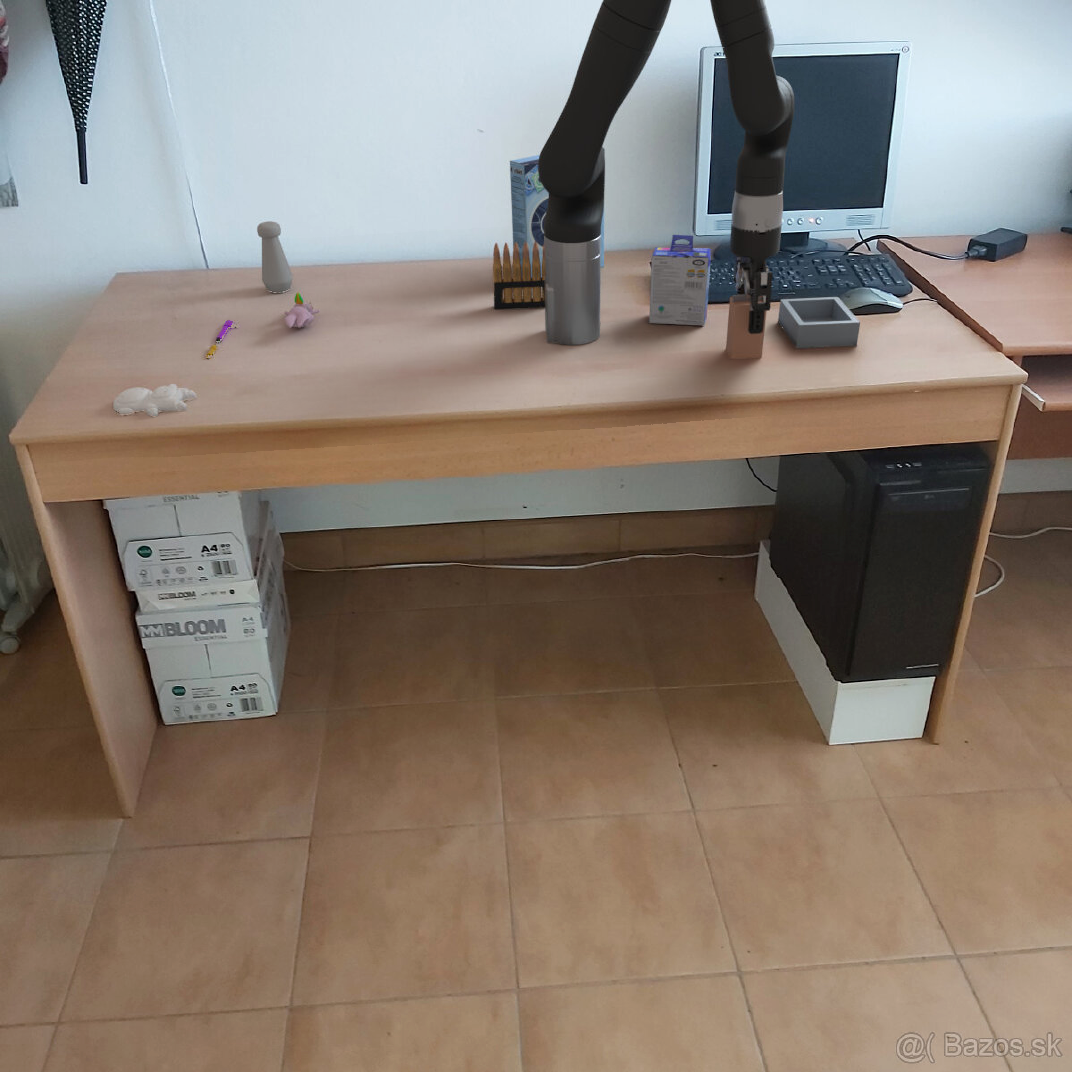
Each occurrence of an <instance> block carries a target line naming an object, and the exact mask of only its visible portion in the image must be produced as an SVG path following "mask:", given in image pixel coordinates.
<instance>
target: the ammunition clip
mask: <svg viewBox="0 0 1072 1072" xmlns="http://www.w3.org/2000/svg"><path fill="white" fill-rule="evenodd" d="M502 249H503V250H502V251H503V252H502V257H503V258H502V261H501V252H500V247H499V245H498V243H497V242H495V243H494V246H493V255H492V256H493V258H492V259H493V263H492V276H493V277H492V278H493V281H492V282H493V309H494V310H496V311H497V310H502V311H503V310H520V309H521V310H522V309H541V308H542V309H545V286H544V277H545V246H544V245H543V257H542V277H541V264H540V257H539V248H538V244H537V242H536V241H535V242H534V246H533V257H532V278H531V264H530V257H529V249H528V245H527V243H526V242H525V243H524V246H523V261H522V275H521V263H520V255H519V248H518V245H517V243H516V242H515V244H514V248H513V247H512V249H513V250H512V264H511V253H510V249H509V245H508V243H507V242H505V243H504V245H503V248H502Z"/></svg>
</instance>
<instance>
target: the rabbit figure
mask: <svg viewBox="0 0 1072 1072" xmlns="http://www.w3.org/2000/svg"><path fill="white" fill-rule="evenodd" d="M294 303H295V304H294V305H293V307H292V308H291V309H290V310H289V311H284V312H283V313H284V315H286V316H285V317H284V319H283V320H284V323H286V326H287V327H288V328H292V327H293V328H299V327H302V328H304V327H303V326H305V327H306V326H307V325H311V324H312V322H314V320H315V316H314V314H317V313H319V312H320V309H314V307H313V305H312V301H310V302H309V303H308V302H304V298H303V297H302V295H301V293H300V292H299V291H297V292H296V293H295V296H294Z"/></svg>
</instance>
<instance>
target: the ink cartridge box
mask: <svg viewBox="0 0 1072 1072" xmlns="http://www.w3.org/2000/svg"><path fill="white" fill-rule="evenodd" d="M680 240H685V241H687V242H689V243H688V244H685V243H676V241H680ZM711 253H712V251H711V248H708V247H707V248H705V247H702V248H701V247H694V235H687V234H685V235H684V234H672V237H671V244H670V247H655V248H654V251H653V252H652V254H651V262H650V263H651V265H650V293H649V319H648V320H649V321H648V323H649V324H659V325H660V324H661V325H662V324H665V325H682V326H683V325H684V326H705V323H706V320H707V317H708V316H707V315H708V305H709V304H708V301H709V292H710V278H711V277H710V276H711V257H712V256H711Z"/></svg>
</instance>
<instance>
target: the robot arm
mask: <svg viewBox="0 0 1072 1072" xmlns="http://www.w3.org/2000/svg"><path fill="white" fill-rule="evenodd" d="M671 3H672V0H602V2H601V4H600V7H599V9H598V12H597V14H596V17H595V20H594V22H593V24H592V27H591V30H590V33H589V36H588V38H587V39H588V40H587V42H586V44H585V46H584V50H583V53H582V56H581V59H580V61H579V64H578V68H577V71H576V75H575V77H574V80H573V84H572V87H571V90H570V93H569V95H568V98H567V100H566V102H565V105H564V106H563V108H562V111H561V113H560V115H559V117H558V119H557V121H556V123H555V125H554V127H553V128H552V130H551V132H550V134H549V136H548V138H547V140H546V142H545V143H544V145H543V147H542V149H541V151H540V153H539V155H540V156H539V160H538V173H539V178H540V181H541V183H542V185H543V187H544V188H545V189H546V191H547V192H548V193H549V199H548V206H547V211H546V215H545V219H544V246H545V277H544V286H545V308H544V315H545V316H544V319H545V321H544V322H545V324H544V325H545V328H544V329H545V334H546V335H545V336H546V342H547V343H555V344H556V343H557V344H560V345H561V344H562V345H573V346H574V345H584V344H585V345H586V344H589V343H591V342H594V341H595V340H598V339H599V338H600V335H601V284H602V283H601V280H602V279H601V271H602V270H601V222H602V217H603V211H604V212H605V186H606V157H605V155H606V154H605V155H604V150H603V148H604V147H603V146H604V142H605V139H606V138H607V134H608V132H609V129H610V127H611V125H612V122H613V120H614V118H615V117H616V114H617V113H618V111H619V109H620V108H621V106H622V104H623V103H624V101H625V99H626V98H627V97H628V95H629V94H630V92H631V91H632V88H633V87H634V85H635V84H636V82H637V80H638V79H639V77H640V75H641V73H642V71H643V70H644V68H645V66H646V64H647V62H648V60H649V58H650V56H651V55H652V52H653V49H654V48H655V45H656V43H657V40H658V38H659V36H660V34H661V32H662V29H663V27H664V24H665V22H666V19H667V17H668V13H669V10H670V7H671ZM710 6H711V10H712V16H713V20H714V24H715V28H716V31H717V34H718V37H719V42H720V45H721V47H722V51H723V55H724V58H725V62H726V67H727V78H728V84H729V85H728V86H729V94H730V95H729V96H730V102H731V105H732V110H733V112H734V115H735V117H736V120H737V122H738V124H739V125H740V127H741V128H742V130H744V131H745V132H744V133H745V134H744V141H743V147H742V149H741V151H740V153H739V156H738V157H737V161H736V170H735V185H734V196H733V202H732V206H731V207H732V208H731V225H730V239H729V240H730V241H729V251H730V253H731V254H733V255H734V258H735V260H734V269H733V270H734V272H733V279H732V280H733V283H734V284H735V285H734V286H735V291H736V295H742V294H745V296H746V297H748V298H749V309H750V310H749V324H748V331H749V333H750V334H759V333H762V332H763V325H764V313H765V311H766V312H767V311H770V310H771V307H772V305H771V302H772V288H773V287H772V286H773V277H774V275H773V272H772V271H770V270H769V266H768V265H767V259H768V258H770V257H773V256H776V255H777V254H778V253H779V251H780V246H781V238H782V237H781V236H782V235H781V234H782V225H783V224H782V223H783V215H784V214H783V212H784V198H783V197H784V196H783V194H784V181H785V173H786V172H785V170H786V169H785V168H786V167H785V166H786V154H787V150H788V145H789V142H790V141H789V140H790V136H791V132H792V125H793V120H794V113H795V94H794V91H793V90H794V89H793V87H792V86H791V84H790V83H789V81H787V80H786V79H785V78H784V77H781V76H779V75H777V74H776V73H777V72H776V69H775V64H774V60H773V51H774V49H775V37H774V33H773V29H772V24H771V19H770V17H769V13H768V10H767V5H766V3H765V0H710ZM759 296H760V297H761V301H762V303H758V297H759Z"/></svg>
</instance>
